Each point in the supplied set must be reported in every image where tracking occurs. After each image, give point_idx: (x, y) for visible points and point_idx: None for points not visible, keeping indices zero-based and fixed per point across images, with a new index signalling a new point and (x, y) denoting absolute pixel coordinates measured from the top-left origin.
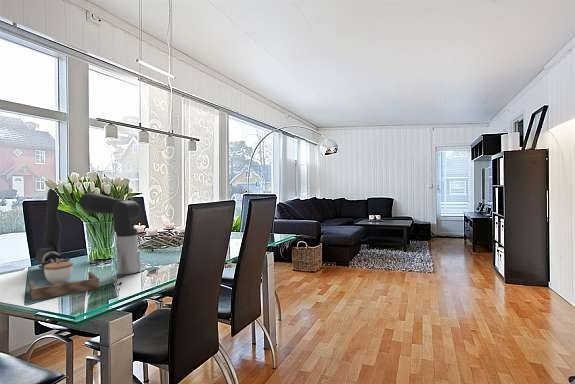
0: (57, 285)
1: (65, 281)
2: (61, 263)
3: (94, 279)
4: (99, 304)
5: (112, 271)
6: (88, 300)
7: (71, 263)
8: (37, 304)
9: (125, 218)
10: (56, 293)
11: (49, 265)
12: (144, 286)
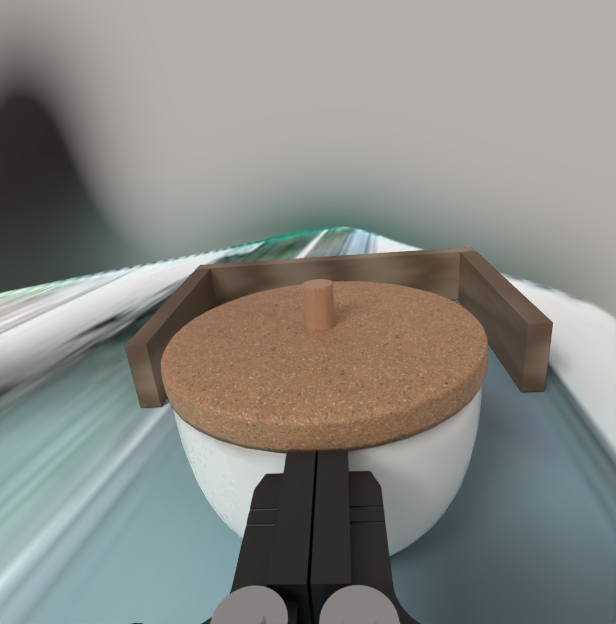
0: (370, 255)
1: None
2: (286, 327)
3: (218, 265)
4: (284, 242)
5: None
6: (295, 258)
7: (204, 313)
8: None
9: None
10: None
11: (416, 308)
12: (97, 284)
